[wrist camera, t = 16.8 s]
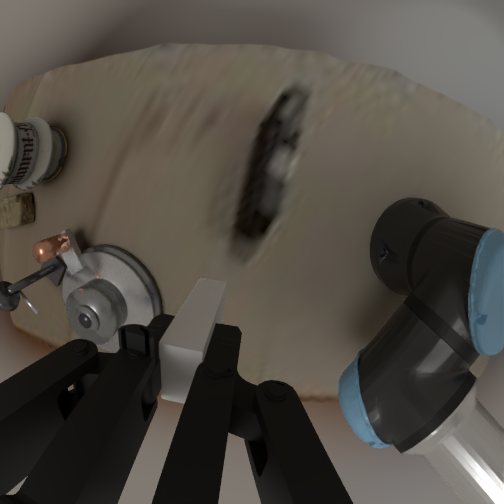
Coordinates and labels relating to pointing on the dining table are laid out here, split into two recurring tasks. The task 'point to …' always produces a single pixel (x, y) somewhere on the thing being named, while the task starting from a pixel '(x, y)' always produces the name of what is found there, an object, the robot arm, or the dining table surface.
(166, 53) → the dining table surface
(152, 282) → the turntable base
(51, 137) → the apothecary jar
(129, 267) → the turntable
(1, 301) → the dial gauge stand
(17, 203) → the stone block
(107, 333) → the cover
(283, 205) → the dining table surface
